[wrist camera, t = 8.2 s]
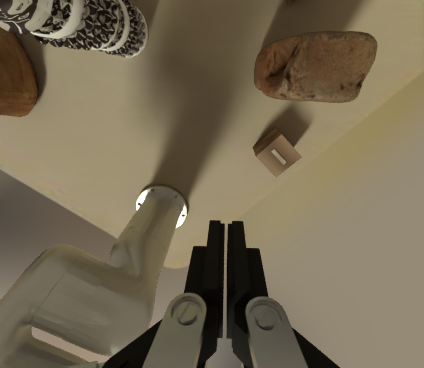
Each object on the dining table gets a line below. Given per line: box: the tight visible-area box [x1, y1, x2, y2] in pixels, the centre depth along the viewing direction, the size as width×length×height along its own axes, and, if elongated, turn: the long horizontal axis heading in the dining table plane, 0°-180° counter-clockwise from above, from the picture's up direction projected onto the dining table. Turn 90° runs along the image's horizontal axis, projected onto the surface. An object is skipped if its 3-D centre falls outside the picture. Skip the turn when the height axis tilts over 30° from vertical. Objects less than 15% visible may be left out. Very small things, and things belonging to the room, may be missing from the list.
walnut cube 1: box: [253, 128, 301, 177], centre depth 44 cm, size 6×6×6 cm
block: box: [254, 31, 377, 103], centre depth 31 cm, size 11×8×20 cm
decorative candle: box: [0, 0, 148, 57], centre depth 28 cm, size 9×9×25 cm
